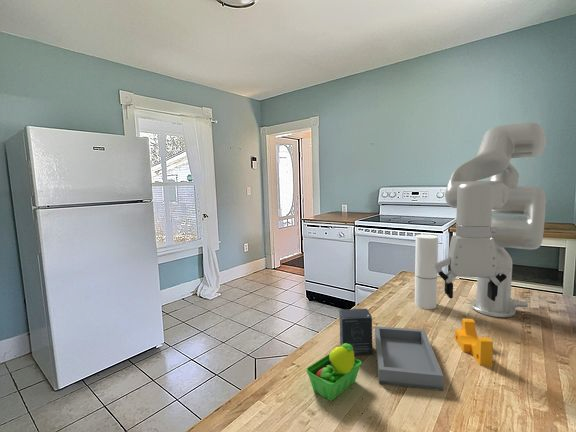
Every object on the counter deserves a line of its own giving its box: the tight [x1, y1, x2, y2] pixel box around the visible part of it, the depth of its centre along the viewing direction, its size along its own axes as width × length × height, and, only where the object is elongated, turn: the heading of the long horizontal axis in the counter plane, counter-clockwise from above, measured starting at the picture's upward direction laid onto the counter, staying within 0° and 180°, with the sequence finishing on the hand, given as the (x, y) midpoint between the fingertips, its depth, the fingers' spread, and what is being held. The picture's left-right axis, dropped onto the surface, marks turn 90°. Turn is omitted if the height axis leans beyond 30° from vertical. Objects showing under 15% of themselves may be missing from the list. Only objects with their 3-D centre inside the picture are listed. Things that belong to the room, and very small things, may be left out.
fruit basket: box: [305, 343, 362, 402], centre depth 69 cm, size 11×9×11 cm
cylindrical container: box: [414, 233, 439, 310], centre depth 109 cm, size 7×7×25 cm
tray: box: [374, 325, 444, 392], centre depth 78 cm, size 13×20×4 cm, turn 167°
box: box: [339, 308, 374, 356], centre depth 83 cm, size 8×6×11 cm
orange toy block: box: [454, 318, 494, 367], centre depth 81 cm, size 12×4×6 cm, turn 170°
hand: (470, 297), depth 79 cm, fingers open, 9 cm apart
